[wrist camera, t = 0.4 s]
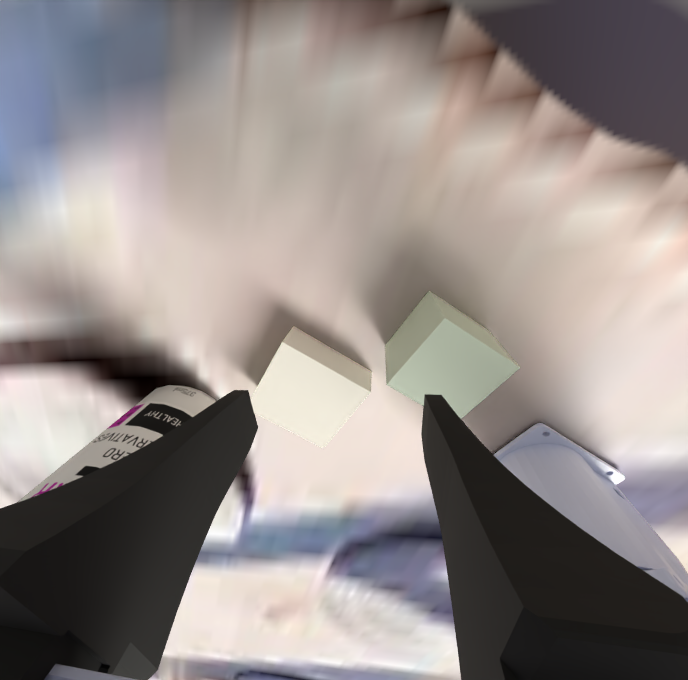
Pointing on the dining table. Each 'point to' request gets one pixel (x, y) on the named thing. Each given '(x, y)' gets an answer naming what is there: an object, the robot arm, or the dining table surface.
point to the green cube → (445, 357)
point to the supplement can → (130, 433)
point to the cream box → (310, 388)
